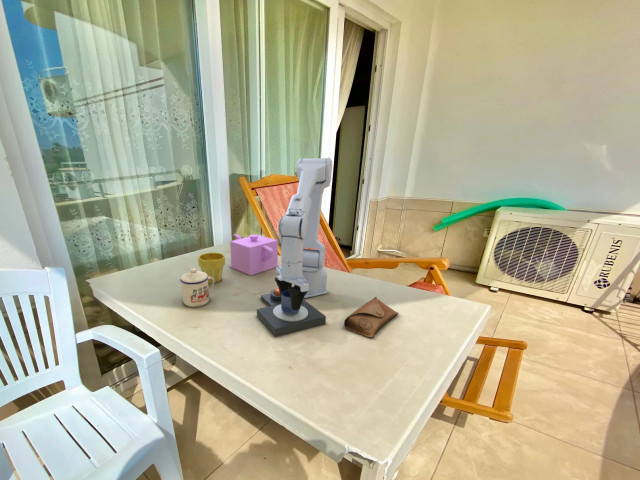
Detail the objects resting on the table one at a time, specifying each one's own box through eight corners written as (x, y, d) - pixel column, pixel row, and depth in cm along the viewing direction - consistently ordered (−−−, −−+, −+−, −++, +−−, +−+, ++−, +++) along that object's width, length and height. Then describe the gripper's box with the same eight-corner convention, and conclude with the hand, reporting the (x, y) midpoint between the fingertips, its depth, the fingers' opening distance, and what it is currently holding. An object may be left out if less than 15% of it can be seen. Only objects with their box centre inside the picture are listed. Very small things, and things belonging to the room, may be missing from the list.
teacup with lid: (191, 310, 96) (188, 276, 92) (177, 301, 103) (174, 268, 98) (222, 298, 103) (220, 266, 99) (207, 290, 110) (204, 260, 106)
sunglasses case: (374, 338, 78) (363, 314, 78) (350, 340, 83) (340, 318, 83) (400, 312, 89) (391, 291, 90) (378, 316, 95) (369, 296, 95)
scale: (302, 305, 96) (302, 297, 95) (325, 324, 86) (326, 315, 85) (256, 316, 91) (256, 307, 90) (275, 337, 81) (275, 327, 80)
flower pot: (231, 277, 120) (230, 254, 117) (215, 287, 112) (214, 262, 109) (210, 273, 126) (209, 250, 122) (194, 281, 117) (192, 258, 114)
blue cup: (293, 303, 90) (294, 288, 89) (303, 311, 86) (304, 295, 84) (277, 306, 89) (277, 291, 87) (286, 315, 84) (287, 299, 82)
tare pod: (287, 293, 105) (287, 285, 104) (299, 303, 98) (299, 294, 97) (260, 298, 102) (260, 290, 101) (271, 309, 95) (271, 300, 94)
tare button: (281, 291, 101) (281, 286, 101) (286, 294, 98) (286, 290, 98) (273, 292, 100) (273, 288, 99) (277, 296, 97) (277, 292, 97)
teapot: (248, 255, 145) (247, 227, 140) (285, 269, 126) (286, 237, 122) (222, 263, 137) (220, 232, 132) (258, 279, 118) (257, 244, 113)
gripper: (266, 254, 87) (266, 297, 92) (292, 271, 74) (291, 319, 79) (288, 251, 89) (287, 292, 94) (317, 266, 77) (314, 313, 81)
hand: (290, 304), depth 87 cm, fingers closed on blue cup, 5 cm apart
